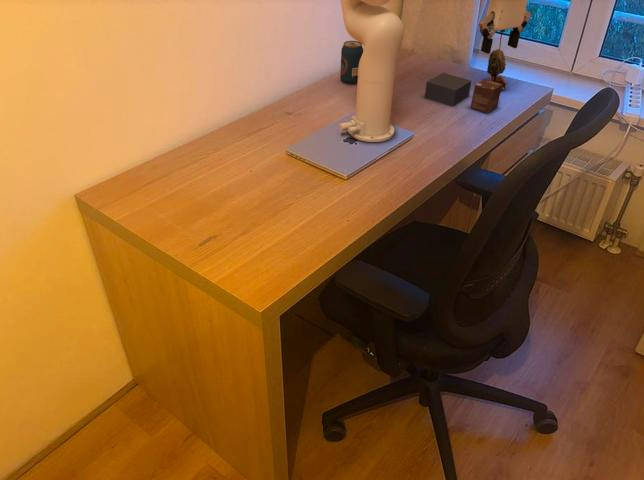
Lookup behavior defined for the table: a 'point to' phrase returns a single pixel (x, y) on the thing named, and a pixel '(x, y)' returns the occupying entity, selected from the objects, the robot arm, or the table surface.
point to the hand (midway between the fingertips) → (498, 49)
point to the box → (486, 96)
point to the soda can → (350, 62)
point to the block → (447, 89)
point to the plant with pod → (497, 65)
